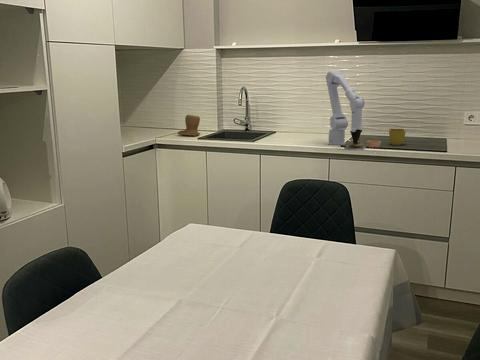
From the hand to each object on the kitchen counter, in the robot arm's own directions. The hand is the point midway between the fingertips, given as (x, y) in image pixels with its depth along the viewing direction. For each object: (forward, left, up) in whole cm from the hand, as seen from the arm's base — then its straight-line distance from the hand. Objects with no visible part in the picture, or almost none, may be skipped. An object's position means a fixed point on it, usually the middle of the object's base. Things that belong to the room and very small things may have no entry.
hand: (355, 142), depth 283 cm
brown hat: (-120, +13, -3) cm, 121 cm away
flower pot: (+21, +18, -3) cm, 28 cm away
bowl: (+9, +7, -3) cm, 12 cm away
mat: (0, 0, -3) cm, 3 cm away
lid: (0, 0, -1) cm, 1 cm away
